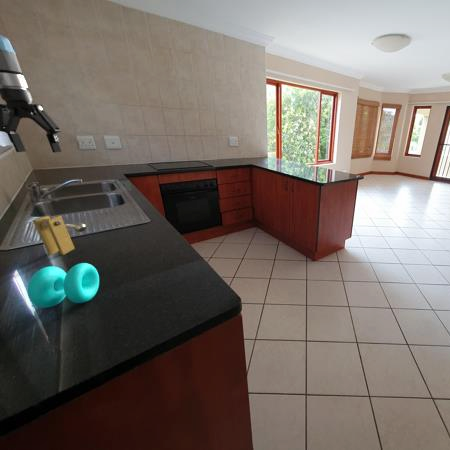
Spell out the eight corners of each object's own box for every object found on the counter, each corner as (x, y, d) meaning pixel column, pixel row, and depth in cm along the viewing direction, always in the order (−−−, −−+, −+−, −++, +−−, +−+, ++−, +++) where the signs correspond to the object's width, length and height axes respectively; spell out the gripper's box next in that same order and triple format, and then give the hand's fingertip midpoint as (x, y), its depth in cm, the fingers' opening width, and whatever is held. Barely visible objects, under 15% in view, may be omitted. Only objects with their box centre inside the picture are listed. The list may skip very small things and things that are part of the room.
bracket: (64, 247, 87) (49, 212, 81) (87, 247, 87) (73, 212, 81) (37, 262, 77) (17, 224, 72) (62, 262, 77) (44, 224, 72)
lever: (78, 232, 90) (80, 223, 90) (87, 232, 90) (89, 223, 90) (38, 227, 76) (40, 217, 76) (49, 227, 76) (51, 217, 76)
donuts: (63, 290, 65) (48, 259, 61) (105, 285, 67) (93, 255, 63) (35, 317, 56) (16, 283, 52) (85, 310, 58) (70, 277, 54)
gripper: (-37, 86, 79) (-5, 152, 87) (39, 87, 79) (63, 153, 88) (-11, 89, 86) (17, 150, 94) (59, 90, 86) (80, 151, 94)
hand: (39, 152), depth 91 cm, fingers open, 13 cm apart
